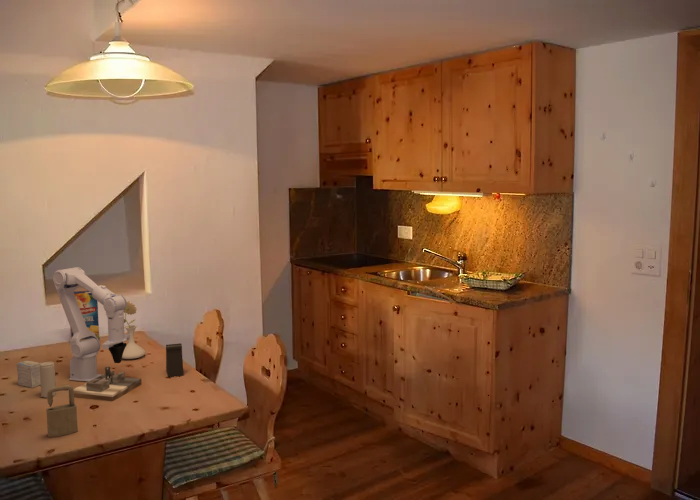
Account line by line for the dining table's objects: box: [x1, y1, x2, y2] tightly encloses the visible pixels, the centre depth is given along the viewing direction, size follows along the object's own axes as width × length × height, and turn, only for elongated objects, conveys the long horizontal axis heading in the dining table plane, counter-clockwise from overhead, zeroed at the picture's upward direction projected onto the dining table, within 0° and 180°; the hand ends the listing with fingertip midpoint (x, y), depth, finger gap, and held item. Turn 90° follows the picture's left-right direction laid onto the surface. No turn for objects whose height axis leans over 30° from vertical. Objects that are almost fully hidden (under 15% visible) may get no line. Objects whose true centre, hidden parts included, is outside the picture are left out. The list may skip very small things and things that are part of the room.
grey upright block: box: [16, 360, 42, 389], centre depth 229 cm, size 8×4×9 cm, turn 65°
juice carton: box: [69, 289, 100, 341], centre depth 289 cm, size 12×8×24 cm, turn 120°
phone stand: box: [165, 343, 184, 378], centre depth 243 cm, size 9×6×12 cm, turn 21°
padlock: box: [46, 384, 79, 438], centre depth 186 cm, size 4×8×15 cm, turn 123°
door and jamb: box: [73, 370, 142, 402], centre depth 224 cm, size 18×17×5 cm
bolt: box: [95, 366, 112, 384], centre depth 221 cm, size 8×2×6 cm, turn 166°
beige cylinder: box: [40, 361, 57, 399], centre depth 218 cm, size 5×5×12 cm
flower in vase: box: [122, 300, 146, 360], centre depth 264 cm, size 13×11×25 cm
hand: (117, 362), depth 230 cm, fingers closed
